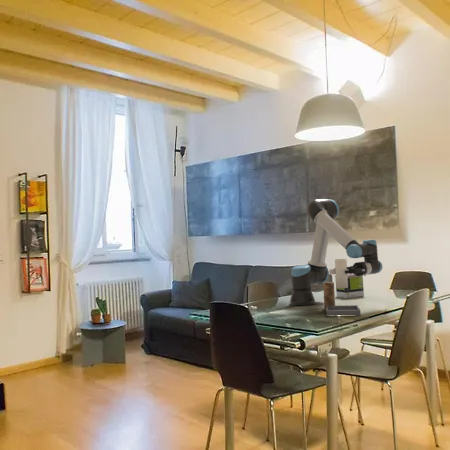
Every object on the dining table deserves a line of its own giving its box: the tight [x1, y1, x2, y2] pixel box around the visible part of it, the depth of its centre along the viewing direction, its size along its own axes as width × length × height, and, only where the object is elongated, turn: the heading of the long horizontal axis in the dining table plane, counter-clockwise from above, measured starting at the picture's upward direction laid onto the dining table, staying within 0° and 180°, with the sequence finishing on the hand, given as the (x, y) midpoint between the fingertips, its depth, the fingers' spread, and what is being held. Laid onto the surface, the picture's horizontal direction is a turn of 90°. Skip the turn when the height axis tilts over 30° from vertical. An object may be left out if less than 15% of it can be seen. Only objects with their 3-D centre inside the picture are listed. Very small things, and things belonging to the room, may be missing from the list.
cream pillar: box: [334, 258, 348, 289], centre depth 265 cm, size 6×6×15 cm
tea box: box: [334, 273, 365, 299], centre depth 328 cm, size 15×10×15 cm
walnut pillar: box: [322, 281, 336, 310], centre depth 282 cm, size 6×6×15 cm
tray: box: [325, 304, 362, 317], centre depth 265 cm, size 17×17×3 cm
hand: (335, 272), depth 262 cm, fingers closed on cream pillar, 6 cm apart
